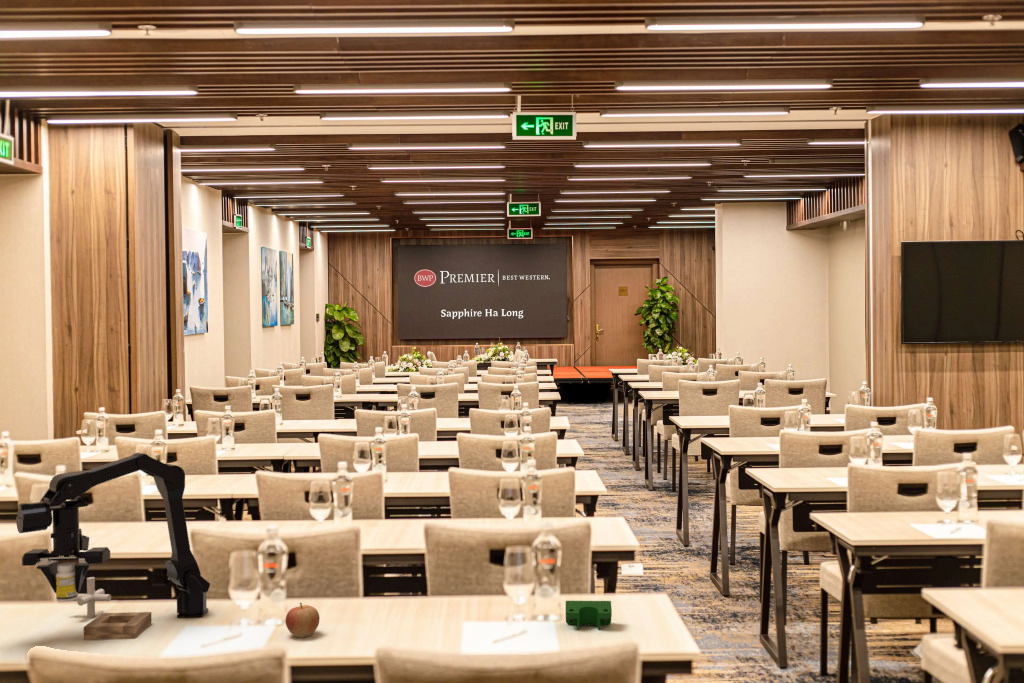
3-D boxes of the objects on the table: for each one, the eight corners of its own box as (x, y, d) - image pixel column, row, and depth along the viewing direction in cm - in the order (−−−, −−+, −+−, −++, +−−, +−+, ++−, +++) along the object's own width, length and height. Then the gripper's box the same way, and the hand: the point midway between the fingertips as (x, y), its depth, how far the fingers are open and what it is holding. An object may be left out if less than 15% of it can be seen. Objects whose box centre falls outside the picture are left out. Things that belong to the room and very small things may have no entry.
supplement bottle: (60, 597, 231) (60, 562, 231) (81, 596, 232) (80, 561, 232) (53, 602, 226) (52, 566, 226) (73, 601, 227) (73, 566, 227)
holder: (151, 623, 241) (151, 611, 241) (134, 638, 229) (134, 625, 229) (102, 625, 241) (102, 613, 241) (83, 639, 229) (83, 626, 229)
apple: (289, 642, 225) (288, 608, 225) (282, 633, 232) (282, 600, 232) (323, 638, 228) (322, 604, 228) (316, 629, 235) (315, 596, 235)
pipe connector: (119, 611, 253) (119, 573, 253) (99, 622, 243) (99, 583, 243) (83, 611, 254) (83, 573, 254) (61, 621, 244) (61, 582, 244)
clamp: (574, 646, 233) (558, 615, 231) (574, 633, 239) (559, 603, 237) (619, 629, 231) (604, 598, 230) (618, 616, 237) (603, 585, 235)
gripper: (118, 519, 237) (119, 582, 238) (41, 521, 237) (42, 584, 237) (100, 528, 226) (102, 594, 226) (20, 530, 226) (21, 597, 226)
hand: (67, 592), depth 229 cm, fingers closed on supplement bottle, 5 cm apart
